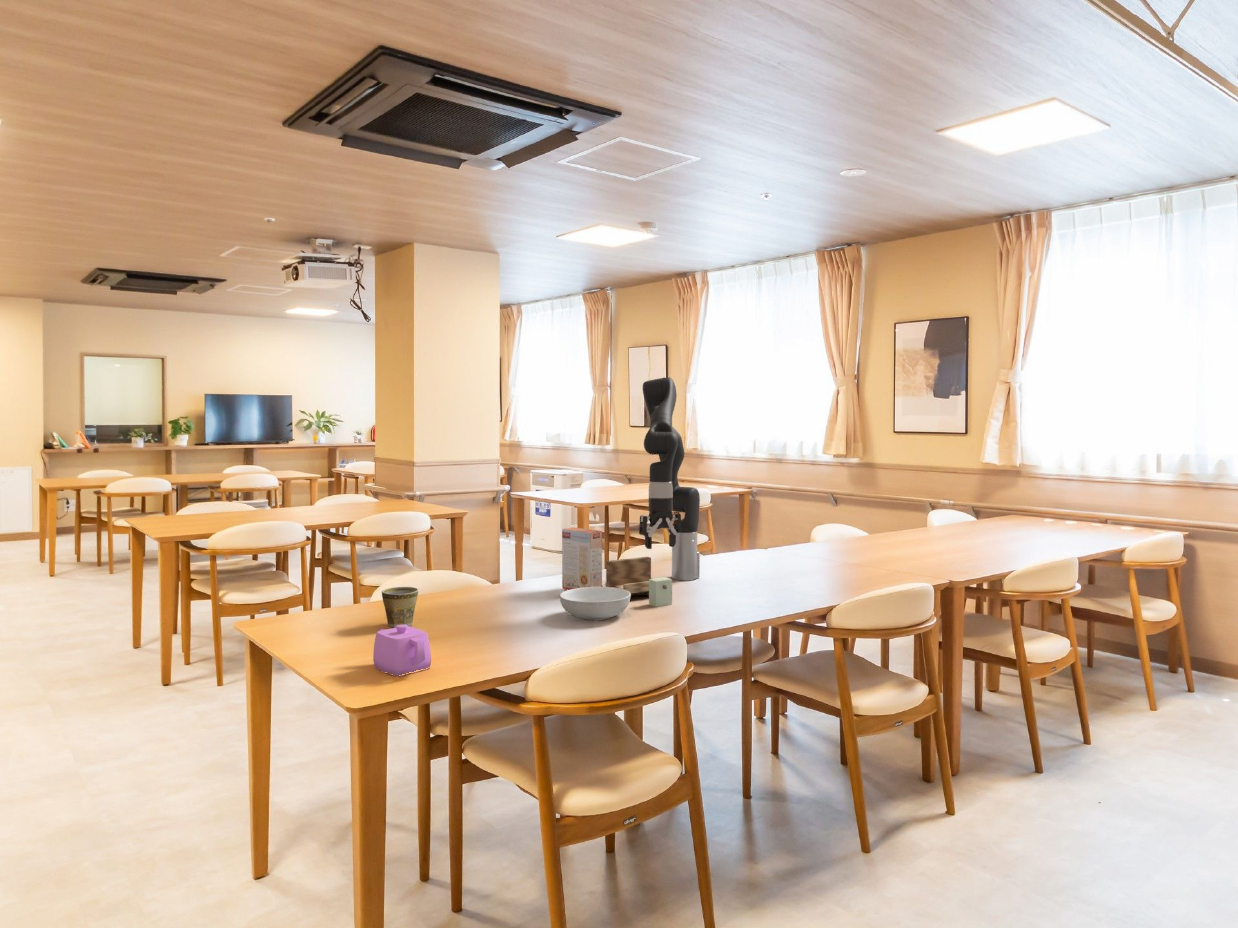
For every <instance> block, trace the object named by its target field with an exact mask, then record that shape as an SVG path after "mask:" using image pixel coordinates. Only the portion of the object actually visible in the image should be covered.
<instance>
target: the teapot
mask: <svg viewBox="0 0 1238 928" xmlns="http://www.w3.org/2000/svg"><path fill="white" fill-rule="evenodd" d="M431 653H432V652H431V645H430V641H429V636H428V633H427V632H426V631H424V630H422V629H419V628H416V627H413V626H410V627H409V626H407V625H397V626H396V628H388V629H386V628H384V629H383V628H382V629H378V631H376V634H375V638H374V643H373V656H372V657H373V658H372V659H373V665H374V668H375V667H376V668H375V669H377V670H378V669H379V671H380V670H382V671H383V672H382V671H381V672H382V673H384V672H387V673H389V674H393V675H395V676H394V677H396V676H399V675H402V674H406V673H409V672H414V671H416V670H421V669H426V668H428V667H430V668H431V663H432V654H431ZM387 673H386V674H387ZM389 674H388V675H389ZM399 677H400V676H399Z"/></svg>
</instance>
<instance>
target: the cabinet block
mask: <svg viewBox="0 0 1238 928" xmlns="http://www.w3.org/2000/svg"><path fill="white" fill-rule="evenodd" d="M648 604H649V605H650V606H652V607H654V608H657V607H664V606H665V607H666V606H671V605H673V578H669V577H664V576H663V577H657V578H651V579H649V596H648Z"/></svg>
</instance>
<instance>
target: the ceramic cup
mask: <svg viewBox="0 0 1238 928" xmlns="http://www.w3.org/2000/svg"><path fill="white" fill-rule="evenodd" d="M418 596H419V589H418V588H417V587H412V586H394V587H389V588H385V589H383V590H382V591H381V597H382V603H383V607H384V609H385V610H384V612H385V615H386V621H387V627H389V628H391V627H393V628H396V626H397V625H407V626H409V627H412V625H413V622H414V621H413V620H414V616H415V615H414V614H415V609H416V605H417V601H418Z"/></svg>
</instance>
